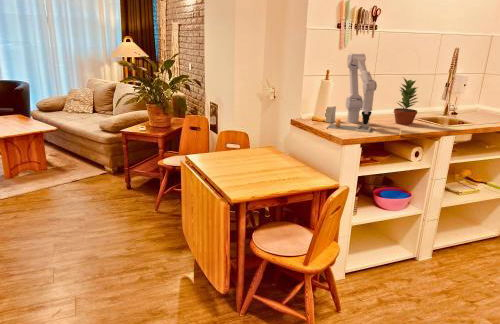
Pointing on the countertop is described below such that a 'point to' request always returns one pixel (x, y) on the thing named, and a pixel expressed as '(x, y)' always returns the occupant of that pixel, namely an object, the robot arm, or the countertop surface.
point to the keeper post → (337, 122)
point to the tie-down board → (348, 127)
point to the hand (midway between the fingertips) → (365, 123)
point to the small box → (330, 114)
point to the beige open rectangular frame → (364, 127)
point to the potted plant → (406, 105)
